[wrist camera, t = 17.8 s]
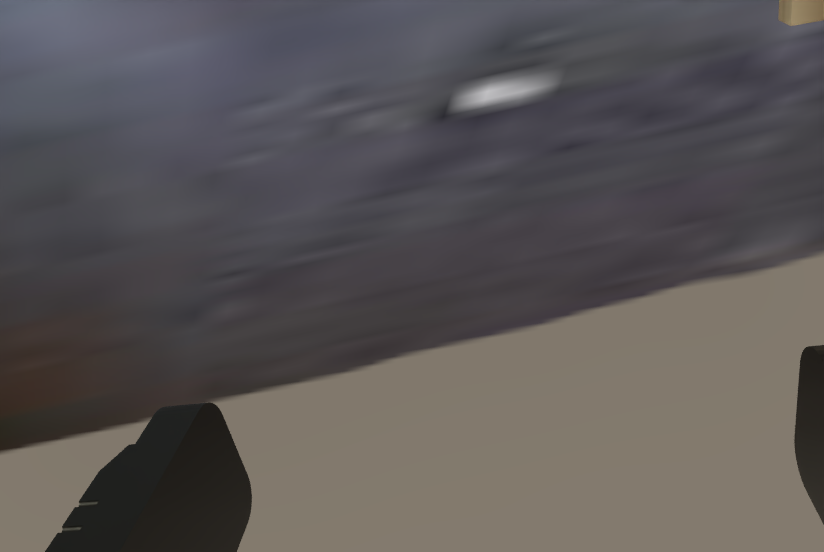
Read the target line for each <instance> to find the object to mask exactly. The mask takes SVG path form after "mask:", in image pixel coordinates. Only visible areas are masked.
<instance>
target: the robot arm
mask: <svg viewBox="0 0 824 552" xmlns="http://www.w3.org/2000/svg"><path fill="white" fill-rule="evenodd" d="M795 453H796V460H797V465H798V468H799V472H800V476H801V479H802V482H803V484H804V487H805V489H806V491H807V493H808V495H809V497H810V499H811V501H812V503H813V505H814V507H815V508H816V510H817V512H818V514H819V516H820V518H821V520H822V522H823V524H824V345H821V346H810V347H806V348H805V349H804V350H803V352H802V355H801V360H800V372H799V386H798V398H797V412H796V425H795ZM250 486H251V485H250V481H249V478H248V475H247V472H246V470H245V468H244V465H243V463H242V460H241V458H240V456H239V453H238V451H237V449H236V446H235V444H234V441H233V439H232V436H231V434H230V432H229V429H228V427H227V425H226V422H225V420H224V417H223V415H222V413H221V411H220V409H219V408H218V407H217V406H216V405H215V404H213V403H200V404H190V405H180V406H169V407H162V408H160V409H159V410H158V411H157V412H156V413H155V414H154V416H153V417H152V419H151V420H150V422H149V423H148V425H147V427H146V428H145V430H144V431H143V433H142V434H141V436H140V438H139V439H138V441H137V442H136V444H132V445H128V446H127V447H126V448H125V449H124V450H123V451H122V452H120V453H119V454H118V455H117V456H116V457H115V458H114V459H113V460H111V462H109V463H108V464H107V465H106V466H105V467H104V468H102V469H101V470H100V471H99V472H98V474H97V475H96V477H95V478H94V480H93V481H92V483H91V484H90V486H89V487H88V489H87V490H86V492H85V493H84V495H83V496H82V498H81V499H80V501H79V503H80V505H79V507H75V508H74V510H73V511H72V512H71V514H70V515H69V517H68V518H67V520H66V521H65V523H64V524H63V526H62V528H63V530H62V533H57V535H56V537H55V538H54V539H53V541H52V542H51V544H50V545H49V547H48V548H47V550H46V551H45V552H237V549H238V547H239V544H240V541H241V539H242V536H243V534H244V531H245V528H246V526H247V523H248V520H249V517H250V512H251V502H252V494H251V487H250Z"/></svg>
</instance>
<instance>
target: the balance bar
mask: <svg viewBox="0 0 824 552" xmlns="http://www.w3.org/2000/svg"><path fill="white" fill-rule="evenodd" d="M779 20H780V21H782V22H784V23H786V24H788V25H790V26H793V25H799V24H805V23H810V22H816V21H822V20H824V0H779Z"/></svg>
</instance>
